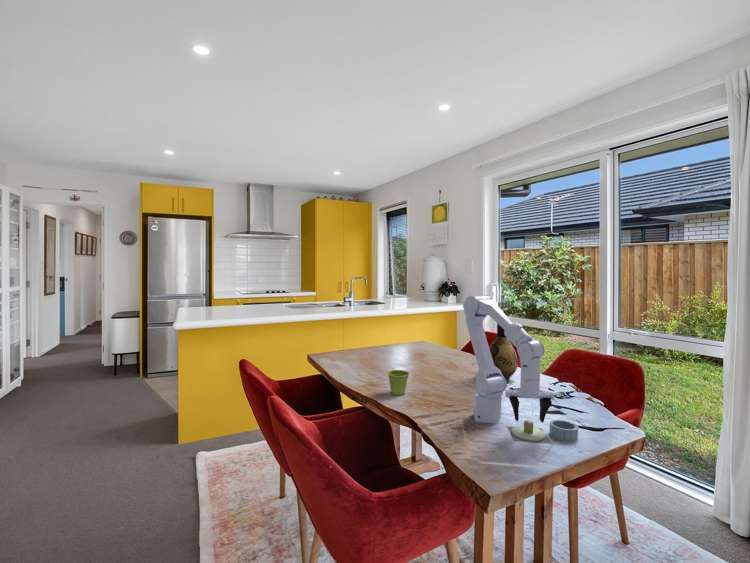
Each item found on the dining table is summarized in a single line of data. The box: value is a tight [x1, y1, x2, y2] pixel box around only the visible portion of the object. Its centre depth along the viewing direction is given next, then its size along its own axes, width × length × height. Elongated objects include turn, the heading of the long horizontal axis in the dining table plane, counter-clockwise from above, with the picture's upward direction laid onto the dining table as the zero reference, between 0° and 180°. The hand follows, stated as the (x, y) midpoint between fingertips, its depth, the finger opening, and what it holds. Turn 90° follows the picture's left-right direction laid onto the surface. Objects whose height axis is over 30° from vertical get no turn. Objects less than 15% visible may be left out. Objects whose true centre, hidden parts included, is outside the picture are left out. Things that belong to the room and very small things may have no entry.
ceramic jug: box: [488, 322, 519, 382], centre depth 194 cm, size 17×15×30 cm
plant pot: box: [386, 369, 411, 396], centre depth 170 cm, size 9×9×9 cm
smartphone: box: [546, 408, 586, 427], centre depth 145 cm, size 7×16×1 cm, turn 11°
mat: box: [506, 426, 552, 444], centre depth 129 cm, size 11×11×1 cm
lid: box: [512, 419, 546, 441], centre depth 129 cm, size 10×10×4 cm
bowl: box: [548, 419, 579, 442], centre depth 128 cm, size 8×8×4 cm
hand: (529, 420), depth 128 cm, fingers open, 7 cm apart
